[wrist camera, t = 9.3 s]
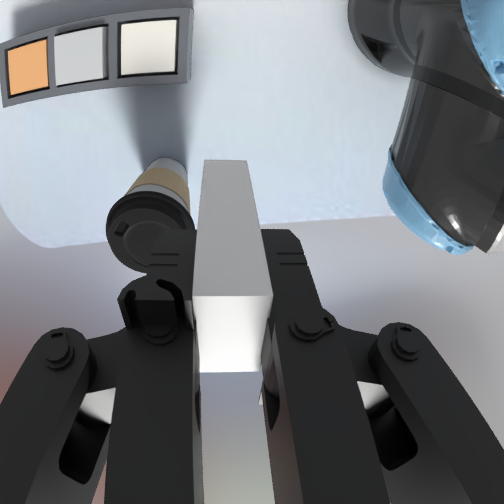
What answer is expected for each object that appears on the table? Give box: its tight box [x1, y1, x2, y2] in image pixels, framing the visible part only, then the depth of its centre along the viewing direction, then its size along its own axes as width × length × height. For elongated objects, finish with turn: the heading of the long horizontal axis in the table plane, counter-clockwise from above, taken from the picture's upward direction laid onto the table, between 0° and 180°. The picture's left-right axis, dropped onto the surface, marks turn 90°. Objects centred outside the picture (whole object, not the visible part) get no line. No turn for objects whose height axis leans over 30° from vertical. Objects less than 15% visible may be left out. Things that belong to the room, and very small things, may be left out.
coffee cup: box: [106, 158, 195, 273], centre depth 36 cm, size 9×9×15 cm
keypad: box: [0, 7, 194, 108], centre depth 28 cm, size 24×9×4 cm, turn 85°
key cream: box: [121, 20, 179, 75], centre depth 28 cm, size 6×6×2 cm
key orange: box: [8, 39, 50, 95], centre depth 26 cm, size 6×6×2 cm
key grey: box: [54, 27, 109, 85], centre depth 26 cm, size 6×6×2 cm
